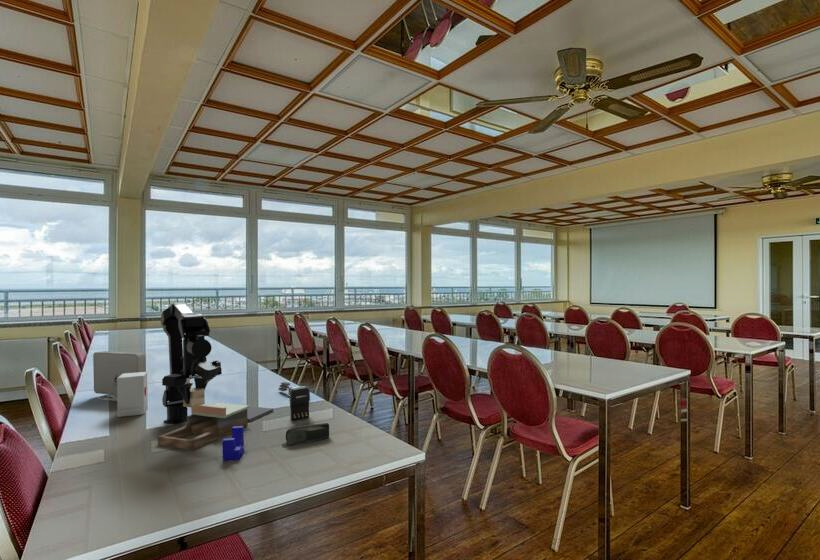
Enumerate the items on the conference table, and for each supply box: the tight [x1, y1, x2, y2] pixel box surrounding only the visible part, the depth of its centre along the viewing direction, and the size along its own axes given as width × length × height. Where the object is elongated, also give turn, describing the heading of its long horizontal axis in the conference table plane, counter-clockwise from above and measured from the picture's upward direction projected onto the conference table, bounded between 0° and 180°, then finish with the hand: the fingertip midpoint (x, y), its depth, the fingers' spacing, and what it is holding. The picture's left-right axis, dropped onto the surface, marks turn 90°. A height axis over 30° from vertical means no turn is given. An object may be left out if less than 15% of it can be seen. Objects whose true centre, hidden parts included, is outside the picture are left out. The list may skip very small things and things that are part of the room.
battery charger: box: [289, 386, 311, 421], centre depth 162 cm, size 7×4×11 cm, turn 118°
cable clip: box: [221, 426, 245, 462], centre depth 132 cm, size 12×4×6 cm, turn 8°
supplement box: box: [116, 371, 149, 418], centre depth 173 cm, size 9×9×15 cm
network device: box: [92, 350, 147, 402], centre depth 196 cm, size 26×9×20 cm, turn 73°
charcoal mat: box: [247, 405, 274, 422], centre depth 168 cm, size 13×13×1 cm
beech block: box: [183, 387, 206, 408], centre depth 144 cm, size 4×4×5 cm
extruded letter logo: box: [277, 381, 293, 396], centre depth 193 cm, size 25×2×6 cm, turn 42°
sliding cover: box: [190, 402, 250, 418], centre depth 154 cm, size 14×12×3 cm
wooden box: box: [157, 409, 248, 451], centre depth 148 cm, size 14×24×6 cm, turn 159°
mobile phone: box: [281, 422, 330, 447], centre depth 140 cm, size 5×3×15 cm
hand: (193, 401), depth 144 cm, fingers closed on beech block, 4 cm apart
